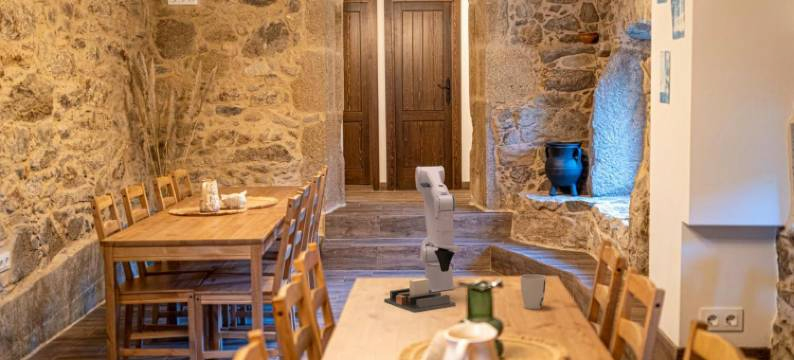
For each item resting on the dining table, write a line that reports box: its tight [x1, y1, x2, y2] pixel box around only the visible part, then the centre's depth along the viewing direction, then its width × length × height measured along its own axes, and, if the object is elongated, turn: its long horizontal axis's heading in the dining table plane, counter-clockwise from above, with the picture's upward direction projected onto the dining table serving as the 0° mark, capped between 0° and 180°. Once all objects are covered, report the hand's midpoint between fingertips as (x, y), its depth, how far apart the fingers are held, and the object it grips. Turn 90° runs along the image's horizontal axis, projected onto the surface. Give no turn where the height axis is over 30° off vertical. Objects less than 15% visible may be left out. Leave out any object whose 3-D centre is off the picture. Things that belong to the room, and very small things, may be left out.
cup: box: [520, 273, 547, 310], centre depth 289 cm, size 8×8×10 cm
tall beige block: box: [409, 277, 429, 296], centre depth 296 cm, size 6×2×7 cm, turn 123°
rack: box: [383, 287, 456, 313], centre depth 296 cm, size 16×18×4 cm
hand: (444, 271), depth 302 cm, fingers closed
